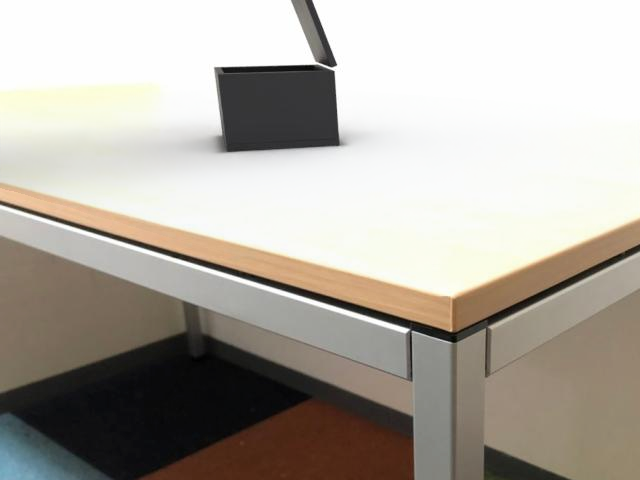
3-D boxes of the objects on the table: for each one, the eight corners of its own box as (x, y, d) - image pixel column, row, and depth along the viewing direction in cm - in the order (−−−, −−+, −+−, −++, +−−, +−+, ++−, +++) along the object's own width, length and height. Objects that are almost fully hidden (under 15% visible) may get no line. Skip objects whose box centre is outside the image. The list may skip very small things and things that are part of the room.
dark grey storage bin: (227, 151, 89) (217, 74, 86) (222, 136, 100) (213, 67, 97) (339, 145, 93) (334, 70, 90) (323, 131, 104) (318, 64, 101)
